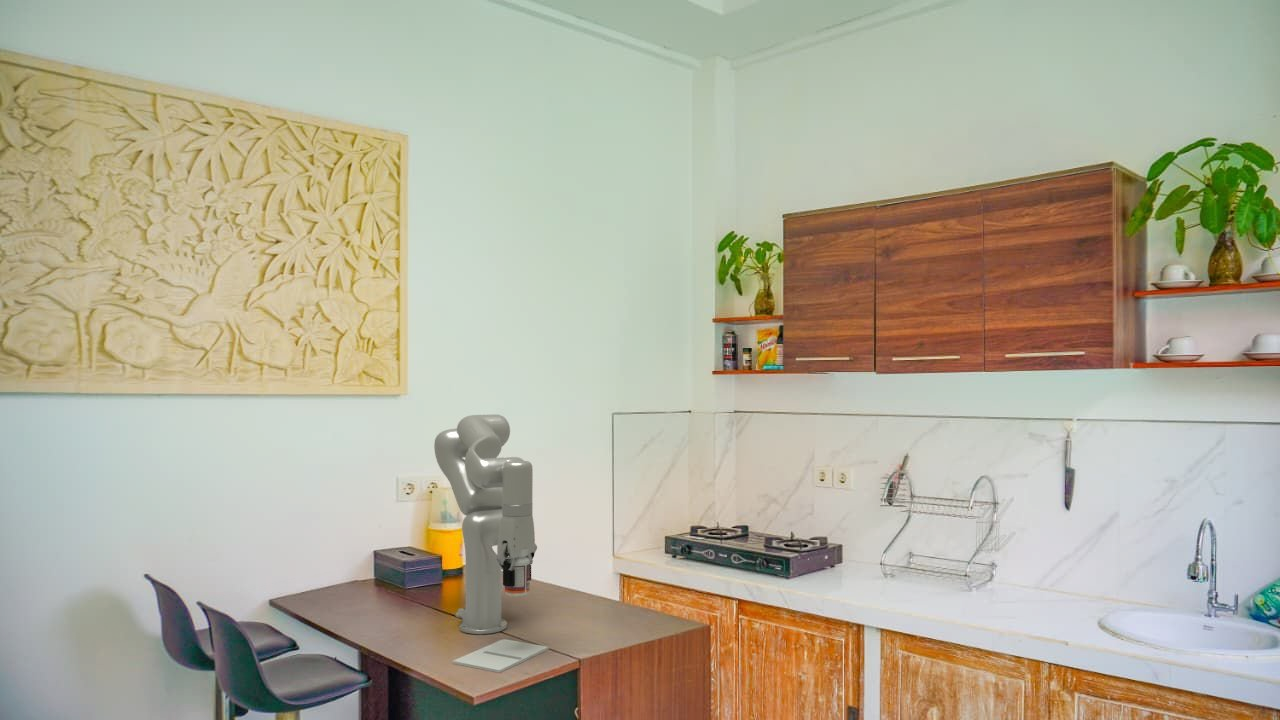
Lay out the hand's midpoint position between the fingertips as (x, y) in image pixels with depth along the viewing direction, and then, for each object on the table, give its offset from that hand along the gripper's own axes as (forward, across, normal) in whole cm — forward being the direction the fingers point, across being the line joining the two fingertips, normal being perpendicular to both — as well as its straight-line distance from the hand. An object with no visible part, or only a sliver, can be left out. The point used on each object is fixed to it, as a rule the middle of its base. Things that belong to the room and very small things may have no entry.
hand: (517, 582), depth 226 cm
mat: (+17, +5, -1) cm, 18 cm away
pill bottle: (+3, 0, 0) cm, 3 cm away
